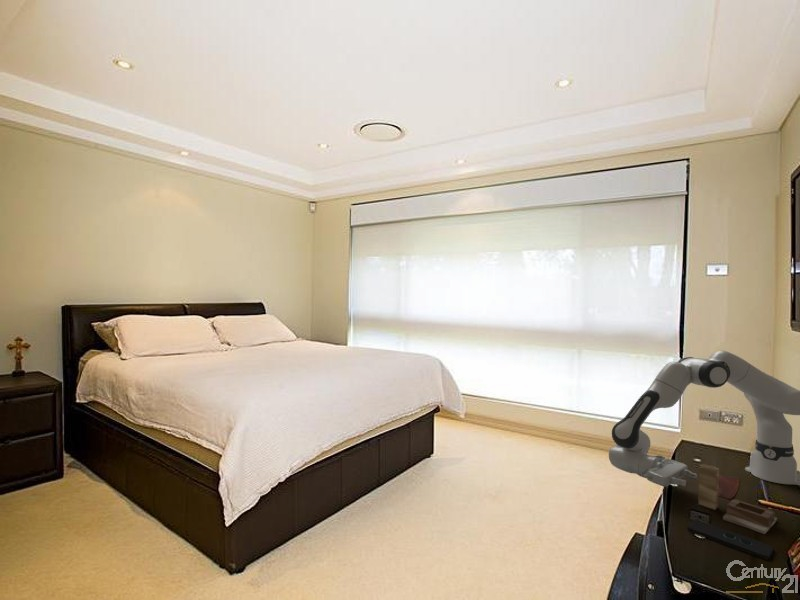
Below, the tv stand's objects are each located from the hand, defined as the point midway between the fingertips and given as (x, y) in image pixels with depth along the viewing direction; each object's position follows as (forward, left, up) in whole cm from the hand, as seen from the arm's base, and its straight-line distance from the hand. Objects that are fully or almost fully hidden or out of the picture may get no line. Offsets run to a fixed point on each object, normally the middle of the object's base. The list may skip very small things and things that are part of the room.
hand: (691, 480), depth 159 cm
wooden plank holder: (0, +17, -7) cm, 19 cm away
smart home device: (+20, +17, -8) cm, 28 cm away
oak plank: (0, +5, -7) cm, 9 cm away
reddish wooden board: (-25, +3, -8) cm, 26 cm away
